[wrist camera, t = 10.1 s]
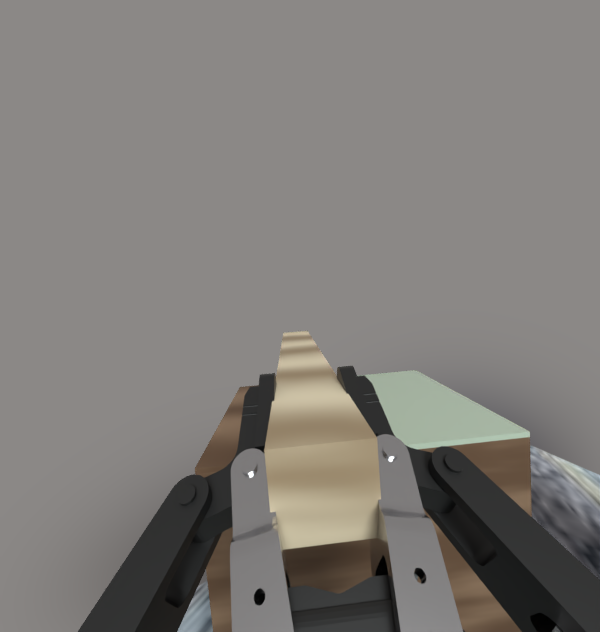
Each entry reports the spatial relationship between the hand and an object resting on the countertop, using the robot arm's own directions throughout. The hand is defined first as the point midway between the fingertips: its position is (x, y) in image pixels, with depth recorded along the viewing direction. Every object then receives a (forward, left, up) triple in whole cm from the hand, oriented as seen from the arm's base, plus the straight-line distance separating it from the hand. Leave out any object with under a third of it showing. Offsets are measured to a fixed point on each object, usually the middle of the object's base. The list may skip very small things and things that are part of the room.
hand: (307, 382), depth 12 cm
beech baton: (+4, -7, -3) cm, 8 cm away
